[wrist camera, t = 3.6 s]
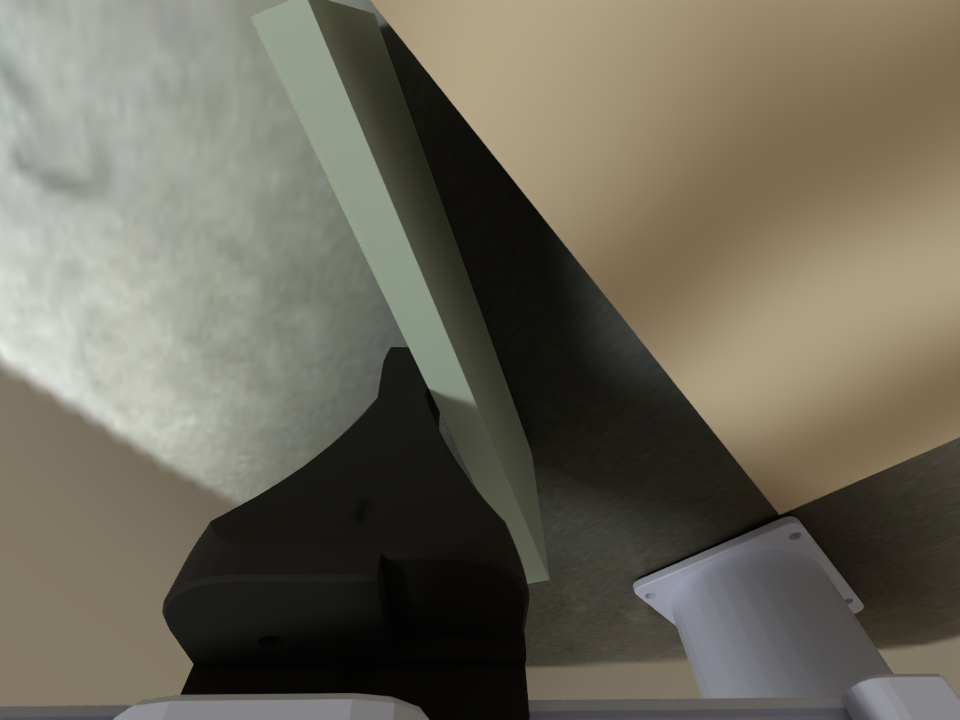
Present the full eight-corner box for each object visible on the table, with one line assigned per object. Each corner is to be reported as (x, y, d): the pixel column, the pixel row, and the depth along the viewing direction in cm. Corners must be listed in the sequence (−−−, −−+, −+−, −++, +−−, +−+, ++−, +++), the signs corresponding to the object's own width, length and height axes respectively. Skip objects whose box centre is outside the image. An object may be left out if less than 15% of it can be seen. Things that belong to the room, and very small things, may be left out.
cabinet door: (531, 453, 18) (549, 579, 13) (481, 465, 18) (483, 591, 14) (374, 14, 10) (305, -6, 6) (292, 47, 10) (172, 50, 6)
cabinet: (1037, 182, 12) (1361, 263, 8) (693, 381, 16) (779, 515, 12) (891, -607, 6) (1875, -2145, 2) (395, -9, 10) (330, -50, 6)
